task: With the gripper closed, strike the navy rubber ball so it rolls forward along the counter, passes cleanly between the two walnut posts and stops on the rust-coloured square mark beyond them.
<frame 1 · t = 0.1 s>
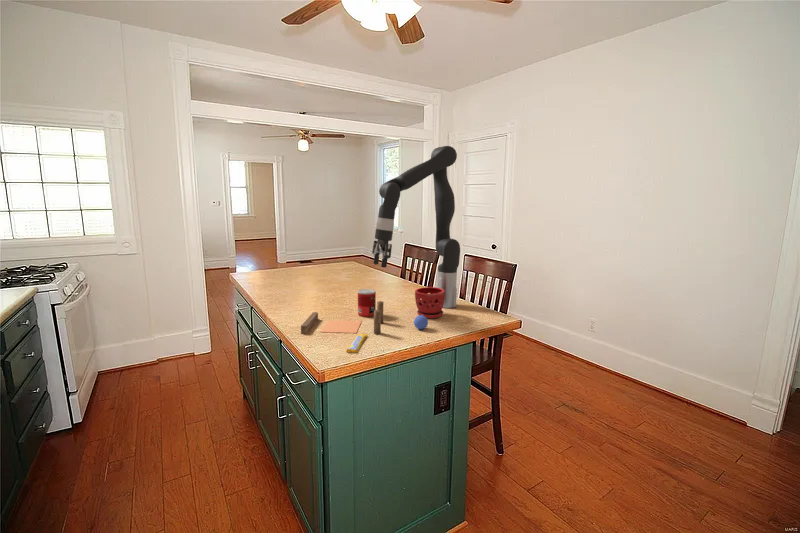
hand: (379, 265, 166), 22 cm above the countertop, tool pointing down, fingers open, 8 cm apart
ball: (421, 322, 151), on the countertop
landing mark: (341, 326, 153), on the countertop
post 2: (380, 322, 158), on the countertop
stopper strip: (310, 325, 153), on the countertop
post 1: (377, 333, 146), on the countertop
canned food: (366, 315, 169), on the countertop
plant pot: (429, 316, 169), on the countertop
candy bar: (357, 346, 135), on the countertop
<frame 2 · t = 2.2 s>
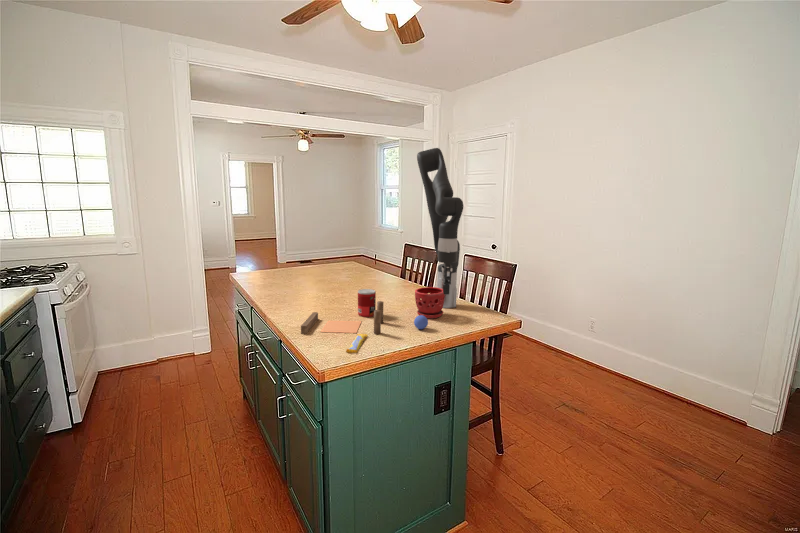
hand: (445, 292, 149), 15 cm above the countertop, tool pointing down, fingers open, 3 cm apart
nothing on the countertop moved.
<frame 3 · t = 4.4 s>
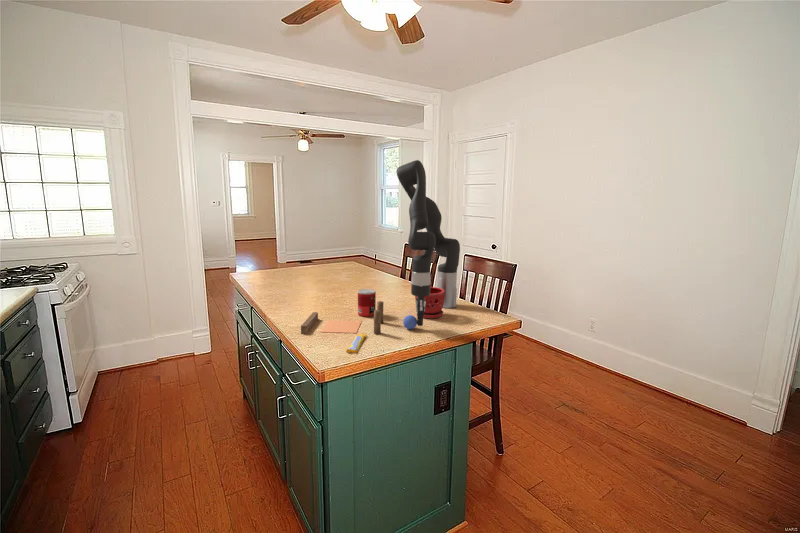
hand: (419, 325, 150), 2 cm above the countertop, tool pointing down, fingers closed
ball: (410, 322, 151), on the countertop
everything else where it was.
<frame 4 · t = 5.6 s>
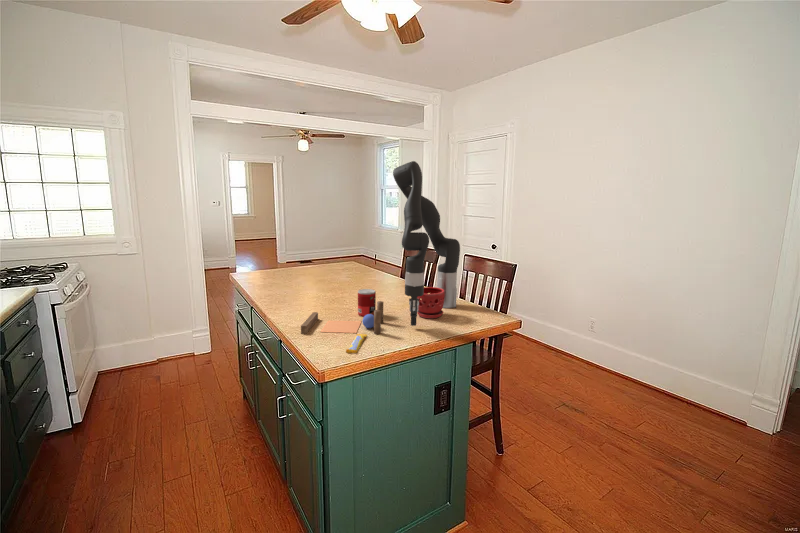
hand: (413, 325, 151), 1 cm above the countertop, tool pointing down, fingers closed
ball: (369, 321, 151), on the countertop
everything else where it was.
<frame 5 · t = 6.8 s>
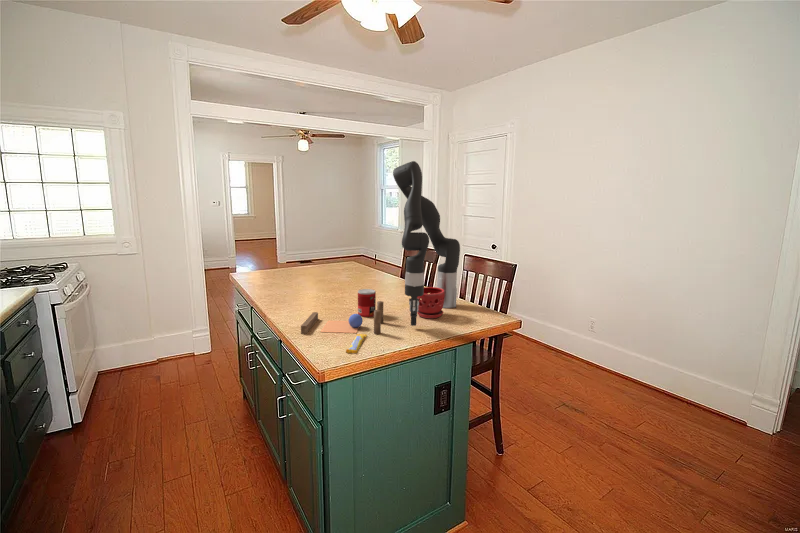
hand: (413, 325, 151), 1 cm above the countertop, tool pointing down, fingers closed
ball: (355, 320, 152), on the countertop
everything else where it was.
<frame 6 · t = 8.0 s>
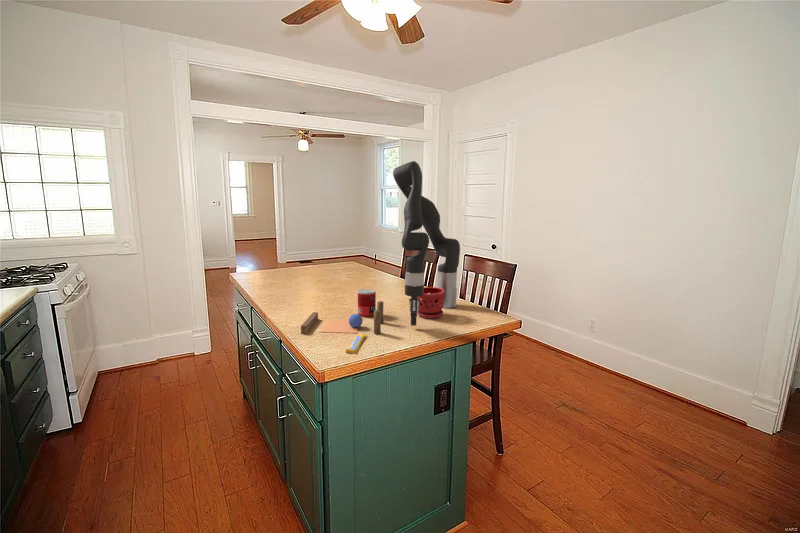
hand: (413, 325, 151), 2 cm above the countertop, tool pointing down, fingers closed
nothing on the countertop moved.
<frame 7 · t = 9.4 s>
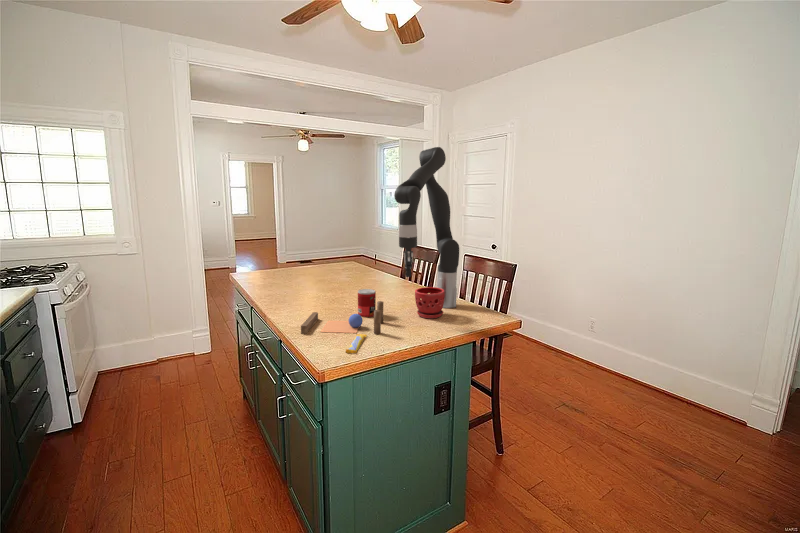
hand: (408, 276, 158), 19 cm above the countertop, tool pointing down, fingers closed
nothing on the countertop moved.
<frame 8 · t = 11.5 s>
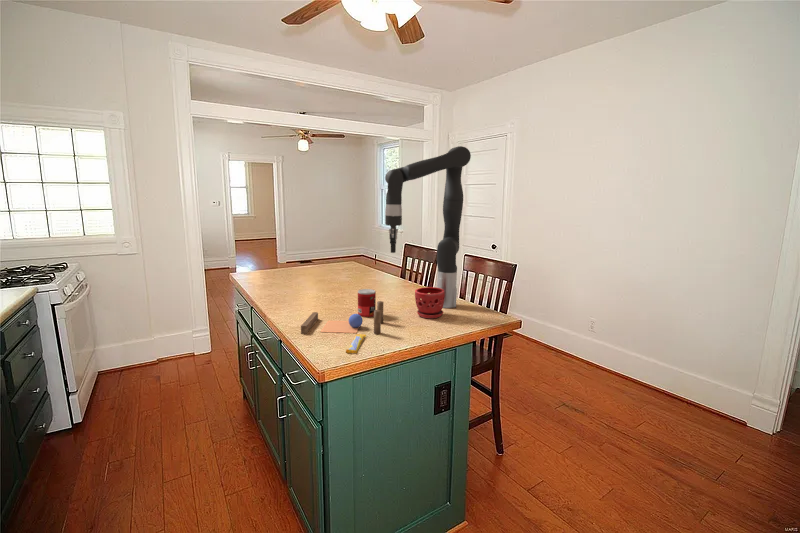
hand: (393, 252, 174), 27 cm above the countertop, tool pointing down, fingers closed
nothing on the countertop moved.
at the end: ball 5.7 cm from the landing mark (horizontally); ball never touched post 2; ball never touched post 1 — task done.
